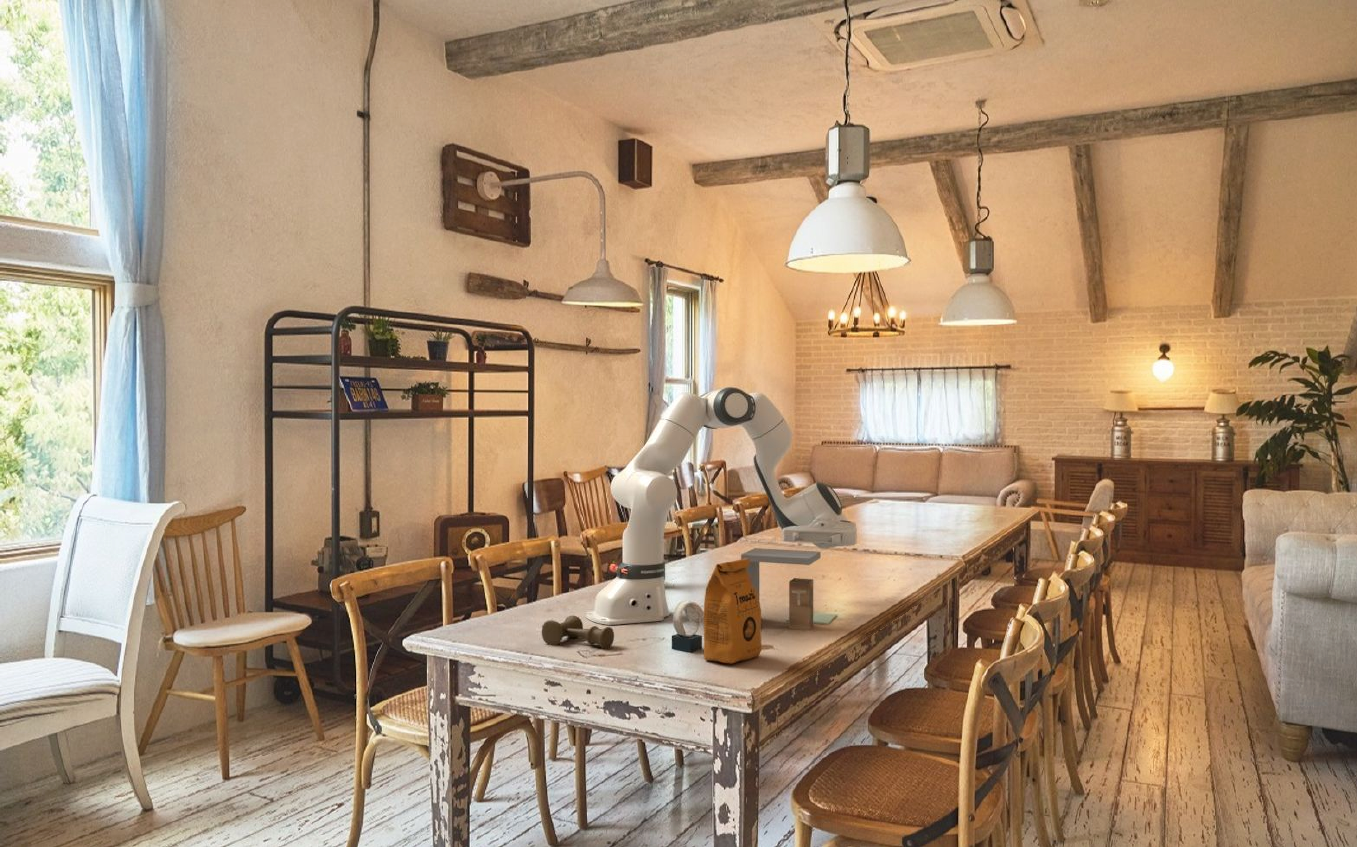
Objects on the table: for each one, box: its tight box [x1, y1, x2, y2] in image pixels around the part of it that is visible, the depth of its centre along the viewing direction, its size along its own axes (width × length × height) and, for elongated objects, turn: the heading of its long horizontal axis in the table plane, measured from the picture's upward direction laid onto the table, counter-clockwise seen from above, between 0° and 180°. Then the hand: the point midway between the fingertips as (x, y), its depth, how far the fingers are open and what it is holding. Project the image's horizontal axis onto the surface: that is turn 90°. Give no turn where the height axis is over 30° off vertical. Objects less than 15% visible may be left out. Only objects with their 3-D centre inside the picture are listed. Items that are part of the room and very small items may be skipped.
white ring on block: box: [671, 600, 704, 654], centre depth 219 cm, size 6×8×11 cm
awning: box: [740, 547, 821, 599], centre depth 242 cm, size 12×18×19 cm
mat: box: [785, 611, 838, 625], centre depth 250 cm, size 11×11×1 cm
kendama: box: [541, 615, 615, 650], centre depth 225 cm, size 6×10×20 cm
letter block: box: [788, 577, 814, 631], centre depth 240 cm, size 5×5×12 cm
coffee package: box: [703, 558, 762, 664], centre depth 210 cm, size 10×12×22 cm
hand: (813, 539), depth 251 cm, fingers open, 8 cm apart
